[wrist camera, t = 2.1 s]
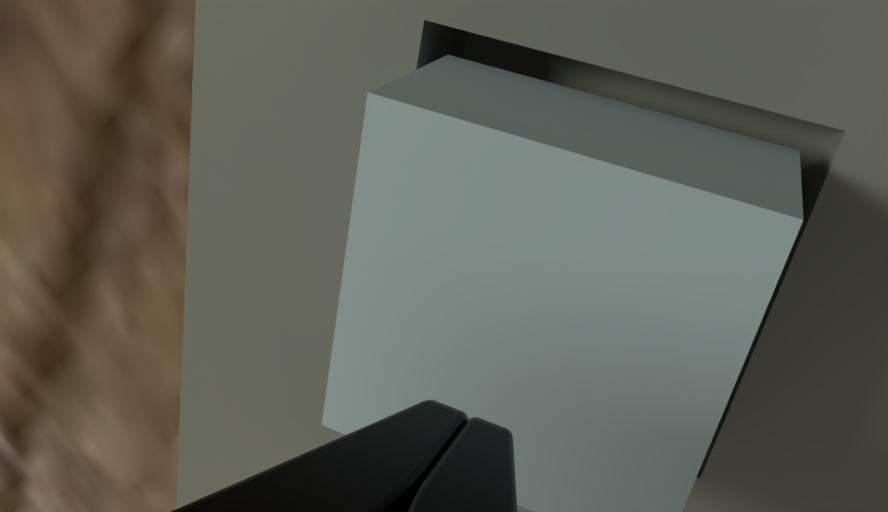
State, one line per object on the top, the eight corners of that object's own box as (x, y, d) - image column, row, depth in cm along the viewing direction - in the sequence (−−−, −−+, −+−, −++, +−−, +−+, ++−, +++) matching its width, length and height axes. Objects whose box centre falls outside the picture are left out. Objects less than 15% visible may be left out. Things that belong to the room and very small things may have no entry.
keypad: (1186, 8, 11) (1312, 43, 8) (729, 802, 19) (719, 944, 16) (310, -175, 14) (203, -191, 11) (241, 572, 22) (170, 661, 20)
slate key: (799, 150, 10) (802, 219, 8) (682, 445, 13) (659, 563, 10) (448, 55, 12) (367, 93, 9) (397, 339, 14) (321, 424, 12)
